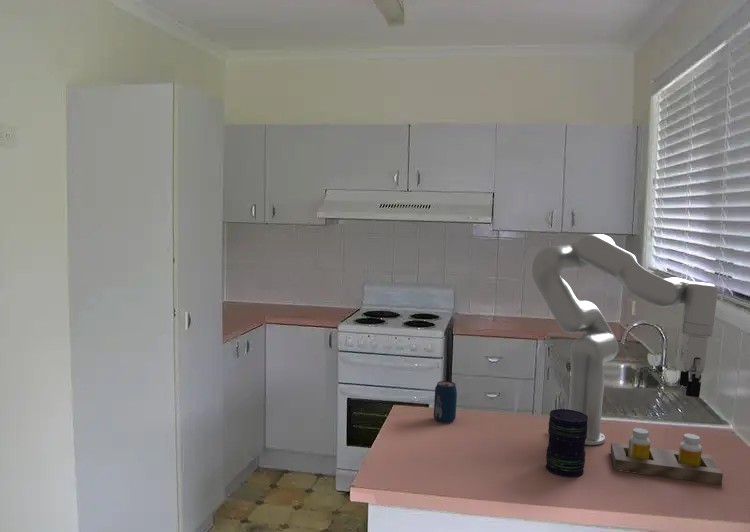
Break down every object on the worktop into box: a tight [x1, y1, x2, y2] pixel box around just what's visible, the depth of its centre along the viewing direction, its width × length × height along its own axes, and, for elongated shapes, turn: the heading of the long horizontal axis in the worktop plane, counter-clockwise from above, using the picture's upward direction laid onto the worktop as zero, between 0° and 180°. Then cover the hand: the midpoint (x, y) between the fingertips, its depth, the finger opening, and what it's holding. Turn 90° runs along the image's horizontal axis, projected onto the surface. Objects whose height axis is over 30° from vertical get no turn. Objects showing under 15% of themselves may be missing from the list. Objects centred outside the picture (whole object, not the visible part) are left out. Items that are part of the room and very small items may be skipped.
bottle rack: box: [609, 442, 724, 486], centre depth 180 cm, size 26×13×3 cm, turn 76°
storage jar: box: [545, 408, 588, 479], centre depth 175 cm, size 10×10×15 cm
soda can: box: [433, 380, 458, 425], centre depth 210 cm, size 7×7×12 cm
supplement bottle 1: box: [628, 427, 651, 460], centre depth 182 cm, size 5×5×10 cm
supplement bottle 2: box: [678, 433, 703, 466], centre depth 179 cm, size 5×5×10 cm
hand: (688, 391), depth 179 cm, fingers open, 9 cm apart
